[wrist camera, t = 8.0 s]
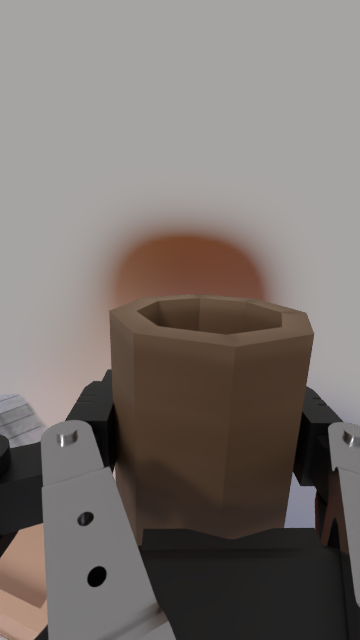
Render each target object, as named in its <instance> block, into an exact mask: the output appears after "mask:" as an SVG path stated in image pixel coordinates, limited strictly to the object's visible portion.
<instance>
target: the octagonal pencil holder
mask: <svg viewBox="0 0 360 640" xmlns="http://www.w3.org/2000/svg"><path fill="white" fill-rule="evenodd" d="M109 313H110V336H111V337H110V339H111V363H112V364H111V365H112V392H113V402H114V425H115V452H116V463H115V471H116V486H117V489H118V492H119V495H120V497H121V500H122V503H123V506H124V509H125V512H126V515H127V518H128V520H129V523H130V526H131V529H132V532H133V535H134V538H135V541H136V544H137V546H140V545H142V538H143V529H190V530H194V531H198V532H202V533H206V534H210V535H214V536H218V537H222V538H226V539H238V538H241V537H244V536H248V535H251V534H255V533H258V532H262V531H265V530H269V529H272V528H284V524H285V517H286V510H287V505H288V498H289V492H290V485H291V479H292V472H293V466H294V460H295V453H296V447H297V441H298V434H299V428H300V421H301V415H302V409H303V402H304V396H305V390H306V383H307V376H308V370H309V364H310V357H311V351H312V345H313V338H314V332H313V330H312V327H311V324H310V322H309V319H308V316H307V314H306V313H305V312H301V311H298V310H294V309H291V308H287V307H283V306H280V305H276V304H272V303H269V302H265V301H261V300H257V299H249V298H236V297H225V296H213V295H201V294H193V295H177V296H160V297H145V298H141V299H139V300H136V301H134V302H131V303H128V304H126V305H123V306H121V307H118V308H115V309H113V310H110V311H109Z"/></svg>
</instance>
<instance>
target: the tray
mask: <svg viewBox="0 0 360 640" xmlns="http://www.w3.org/2000/svg"><path fill="white" fill-rule="evenodd" d="M115 483H116V481H115ZM47 624H48V615H47V594H46V572H45V550H44V528H43V523H42V524H38V525H35V526H32V527H28V528H25V529H21V530H19V531H18V533H17V535H16V536H15V538H14V539H13V541H12V542H11V544H10V545H9V546H8V548H7V549H6V551H5V552H4V554H3V555H2V557H1V558H0V635H1V636H3V637H5V638H7V639H8V640H34V639H35V638H36V637H37V636H38V635H39V633H40V632H41V631H42V630H43V629H44V628H45V627H46V626H47Z"/></svg>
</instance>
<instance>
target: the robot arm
mask: <svg viewBox="0 0 360 640" xmlns="http://www.w3.org/2000/svg"><path fill="white" fill-rule="evenodd" d="M115 463H116V452H115V425H114V402H113V392H112V370H107V372H106V374H105V376H104V378H103V380H102V381H93V382H92V383H91V384H89V385H88V386H86V387H85V388H84V390H83V392H82V393H81V395H80V397H79V398H78V400H77V403H75V405H74V407H73V408H72V410H71V412H70V413H69V415H68V417H67V418H66V420H65V421H64V422H60V423H58V424H55V425H53V426H52V427H50V428H49V429H47V430H46V431H45V432H44V433H43V435H42V437H41V441H40V442H37V443H34V444H30V445H25V446H20V447H15V448H10V445H9V440H8V439H7V438H6V437H5V436H2V435H0V558H1V557H2V555H3V554H4V552H5V551H6V549H7V548H8V546H9V545H10V544H11V542H12V541H13V539H14V538H15V536H16V535H17V533H18V531H19V530H21V529H25V528H28V527H32V526H35V525H38V524H42V523H43V528H44V550H45V572H46V594H47V615H48V624H47V626H46V627H45V628H44V629H43V630H42V631H41V632H40V633H39V635H38V636H37V637H36V638H35V639H34V640H360V426H358V425H355V424H351V423H344V422H343V421H342V420H341V419H340V418H339V417H338V416H337V414H336V413H335V412H334V411H333V410H332V409H331V408H330V407H329V406H327V404H326V403H325V402H324V401H323V400H322V399H321V398H320V397H319V395H318V394H317V393H316V392H315V391H314V390H312V389H310V388H309V387H307V386H306V390H305V396H304V402H303V409H302V415H301V421H300V428H299V434H298V441H297V447H296V453H295V460H294V466H293V473H294V474H295V476H296V478H297V480H298V482H299V484H300V486H315V488H316V489H317V491H316V497H315V528H272V529H269V530H265V531H262V532H258V533H255V534H251V535H248V536H244V537H241V538H238V539H226V538H222V537H218V536H214V535H210V534H206V533H202V532H198V531H194V530H190V529H143V538H142V545H140V546H137V544H136V541H135V538H134V535H133V532H132V529H131V526H130V523H129V520H128V518H127V515H126V512H125V509H124V506H123V503H122V500H121V497H120V495H119V492H118V489H117V486H116V483H115V480H114V477H113V470H114V467H115Z"/></svg>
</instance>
